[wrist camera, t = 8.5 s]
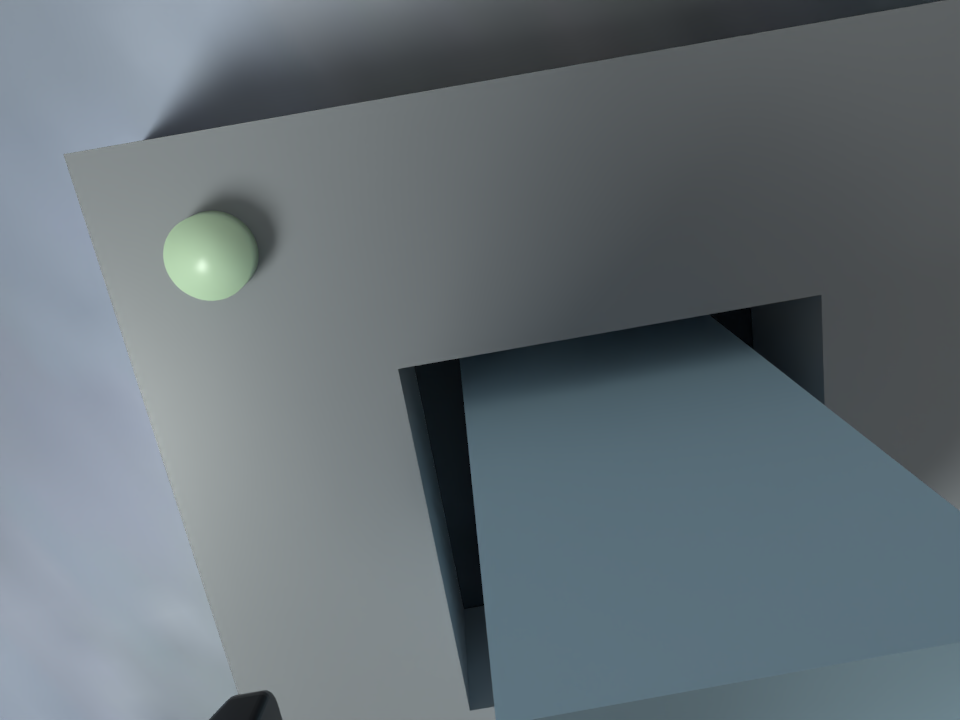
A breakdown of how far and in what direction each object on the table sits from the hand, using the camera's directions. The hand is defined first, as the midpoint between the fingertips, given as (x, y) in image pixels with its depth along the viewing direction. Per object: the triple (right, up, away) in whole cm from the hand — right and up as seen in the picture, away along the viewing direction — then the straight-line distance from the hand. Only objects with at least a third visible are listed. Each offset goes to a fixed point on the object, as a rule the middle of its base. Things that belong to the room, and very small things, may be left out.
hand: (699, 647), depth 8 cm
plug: (0, +2, +5) cm, 5 cm away
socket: (0, +2, +5) cm, 5 cm away
